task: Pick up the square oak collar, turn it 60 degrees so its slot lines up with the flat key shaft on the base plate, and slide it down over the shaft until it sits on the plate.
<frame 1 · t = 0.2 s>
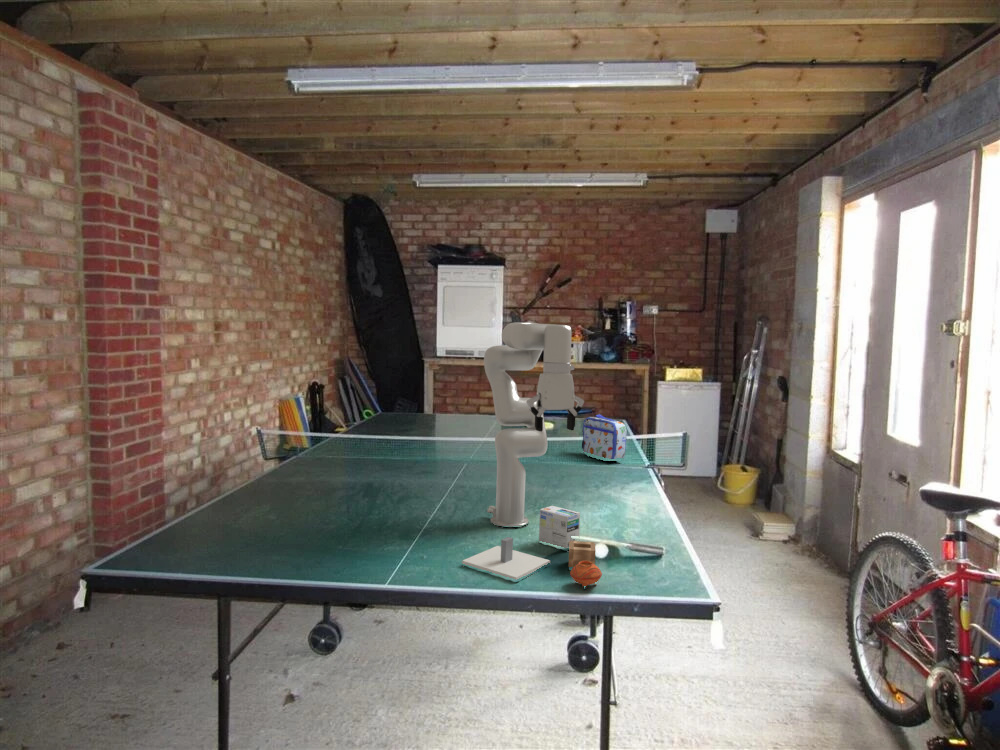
hand: (554, 430, 181), 37 cm above the table, tool pointing down, fingers open, 9 cm apart
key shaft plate: (506, 565, 177), on the table
light bulb box: (558, 546, 195), on the table
oak collar: (581, 566, 178), on the table
lunch box: (601, 459, 326), on the table
pot: (585, 586, 165), on the table
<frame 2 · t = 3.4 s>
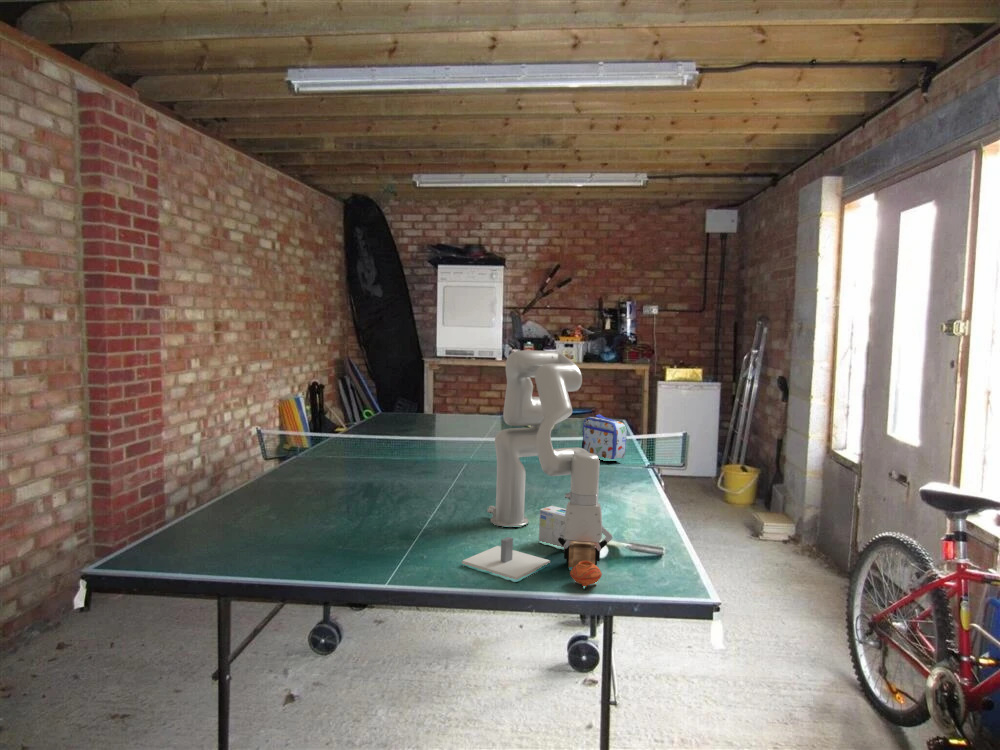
hand: (581, 561, 178), 1 cm above the table, tool pointing down, fingers closed on oak collar, 7 cm apart
oak collar: (581, 567, 178), on the table, touching gripper
everything else where it was.
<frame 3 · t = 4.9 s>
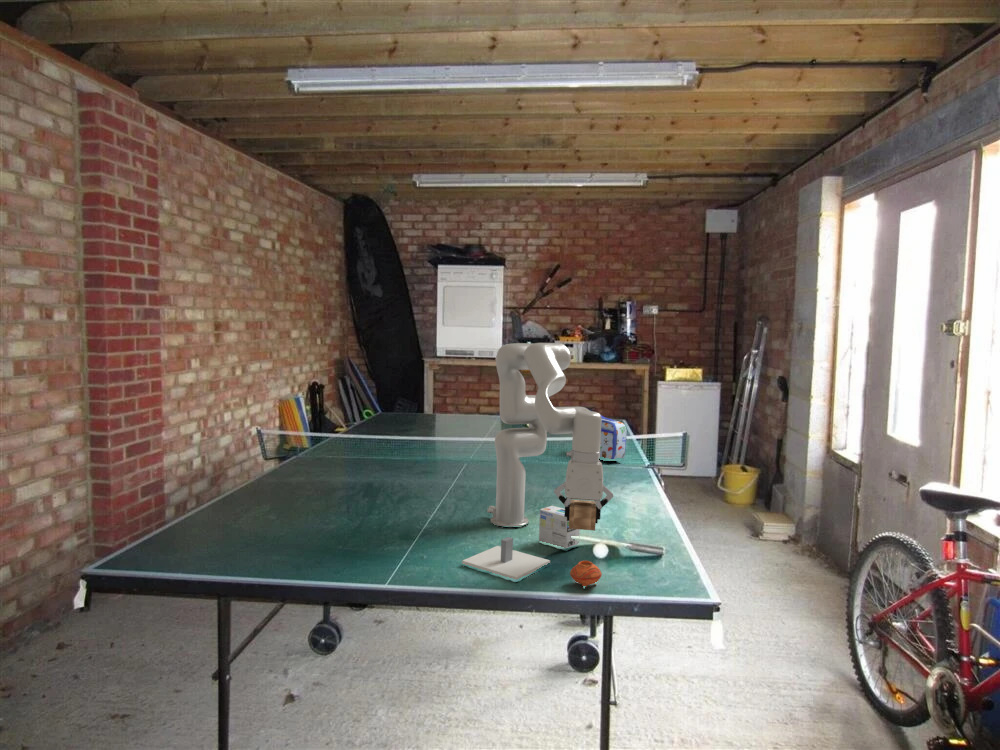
hand: (582, 520, 177), 13 cm above the table, tool pointing down, fingers closed on oak collar, 7 cm apart
oak collar: (581, 525, 177), point 11 cm above the table, touching gripper
everything else where it was.
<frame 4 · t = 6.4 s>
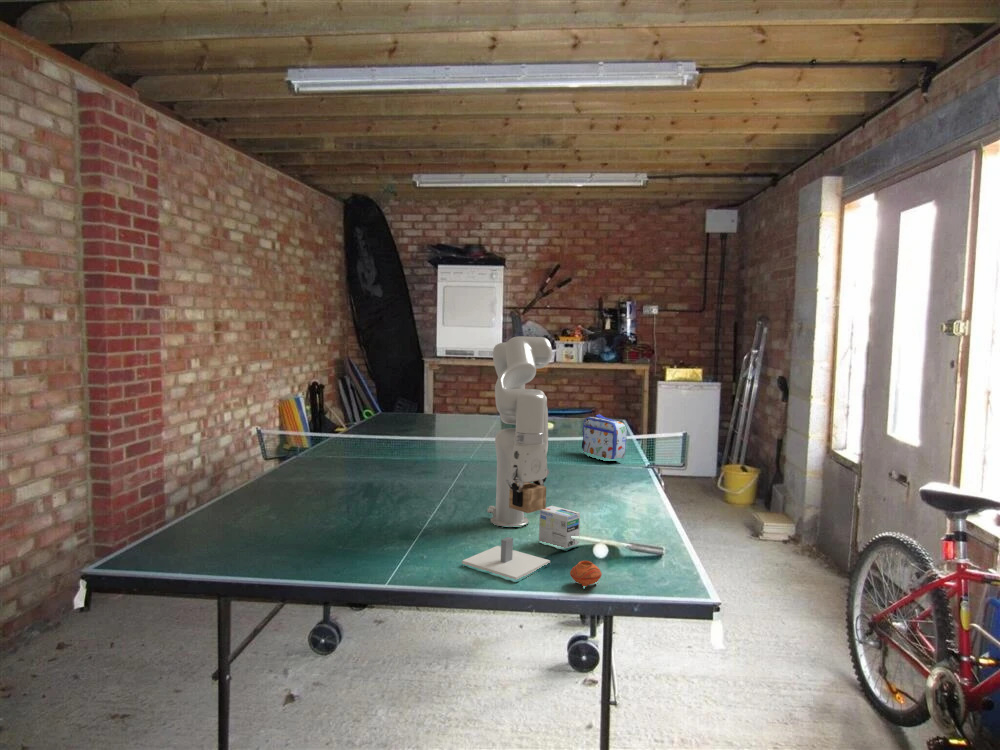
hand: (527, 502, 176), 18 cm above the table, tool pointing down, fingers closed on oak collar, 7 cm apart
oak collar: (527, 507, 176), point 16 cm above the table, touching gripper
everything else where it was.
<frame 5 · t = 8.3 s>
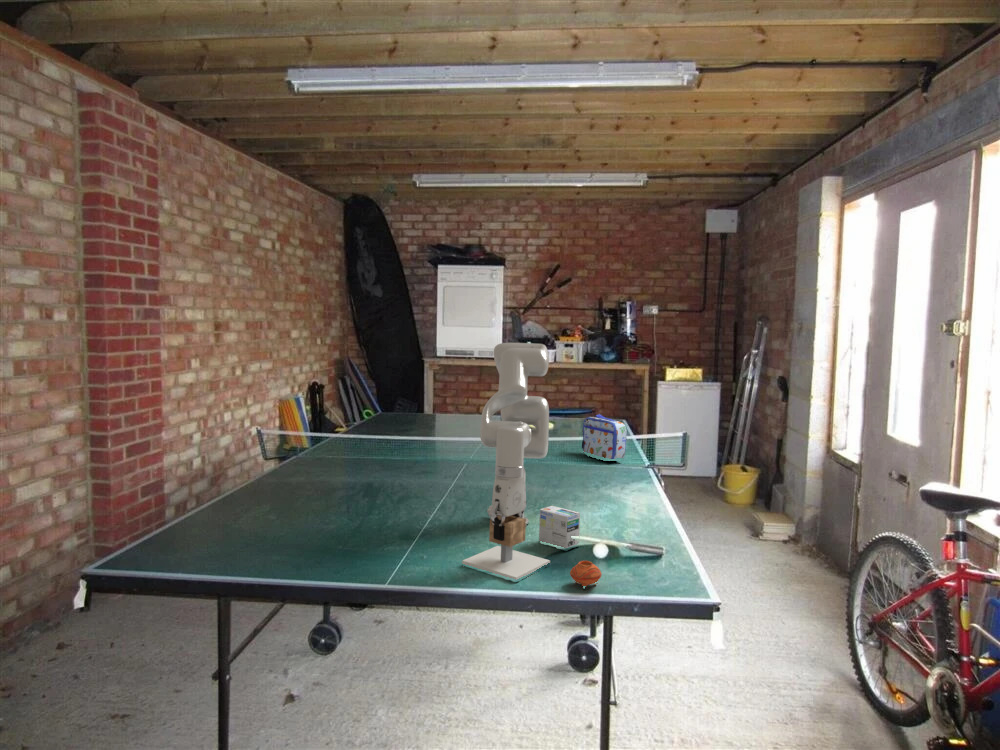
hand: (507, 535, 176), 8 cm above the table, tool pointing down, fingers closed on oak collar, 7 cm apart
oak collar: (507, 540, 176), point 7 cm above the table, touching gripper
everything else where it was.
when the fingers open (4 cm above the table, at t = 9.8 s): oak collar stays where it is, resting on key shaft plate.
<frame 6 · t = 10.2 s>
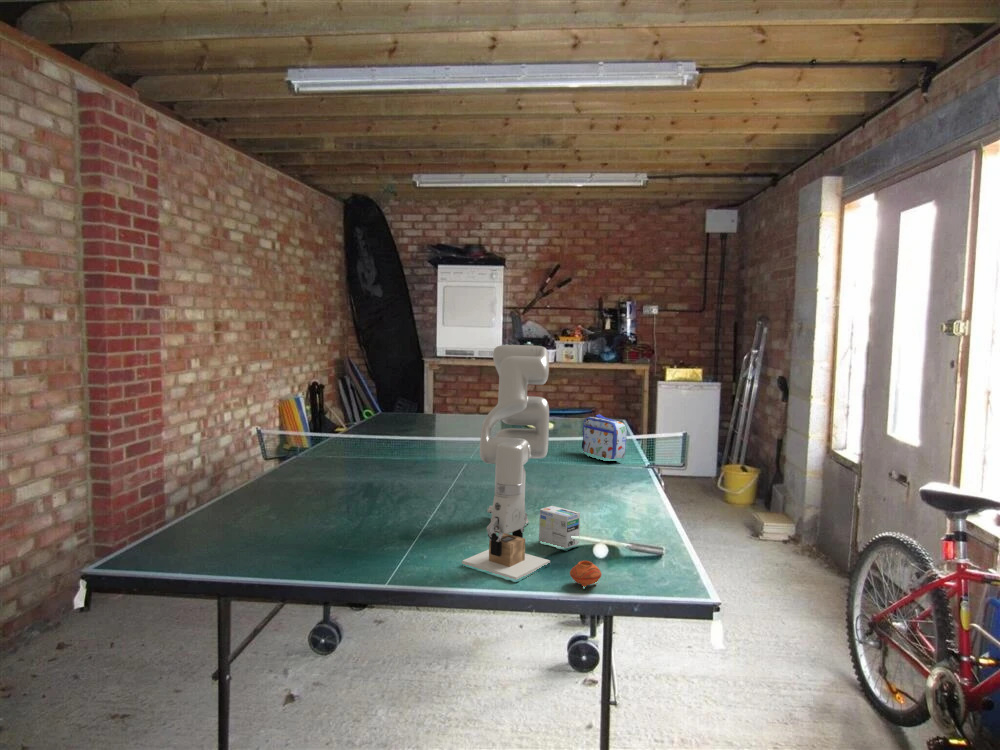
hand: (506, 550, 177), 4 cm above the table, tool pointing down, fingers open, 9 cm apart
oak collar: (506, 560, 177), point 1 cm above the table, touching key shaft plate
everything else where it was.
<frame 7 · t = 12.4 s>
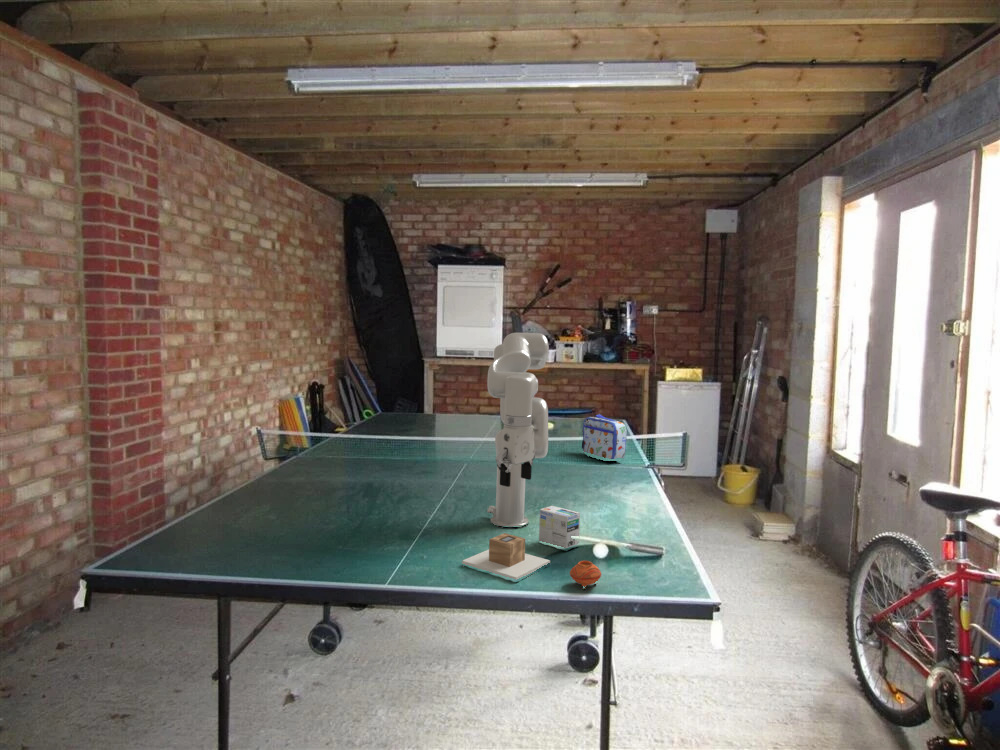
hand: (515, 482, 179), 22 cm above the table, tool pointing down, fingers open, 9 cm apart
nothing on the table moved.
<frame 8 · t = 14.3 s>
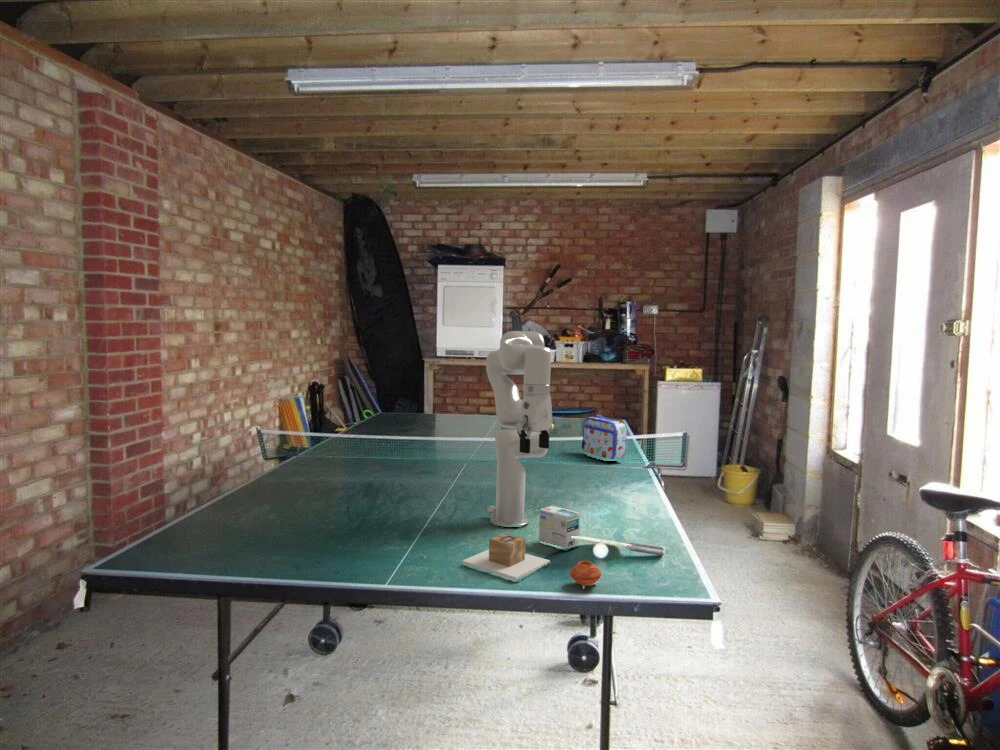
hand: (534, 450, 184), 30 cm above the table, tool pointing down, fingers open, 9 cm apart
nothing on the table moved.
at the end: oak collar 0.1 cm off-centre on the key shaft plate, point 1.5 cm above the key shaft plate's base; oak collar tilted 0°; the gripper is holding nothing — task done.
